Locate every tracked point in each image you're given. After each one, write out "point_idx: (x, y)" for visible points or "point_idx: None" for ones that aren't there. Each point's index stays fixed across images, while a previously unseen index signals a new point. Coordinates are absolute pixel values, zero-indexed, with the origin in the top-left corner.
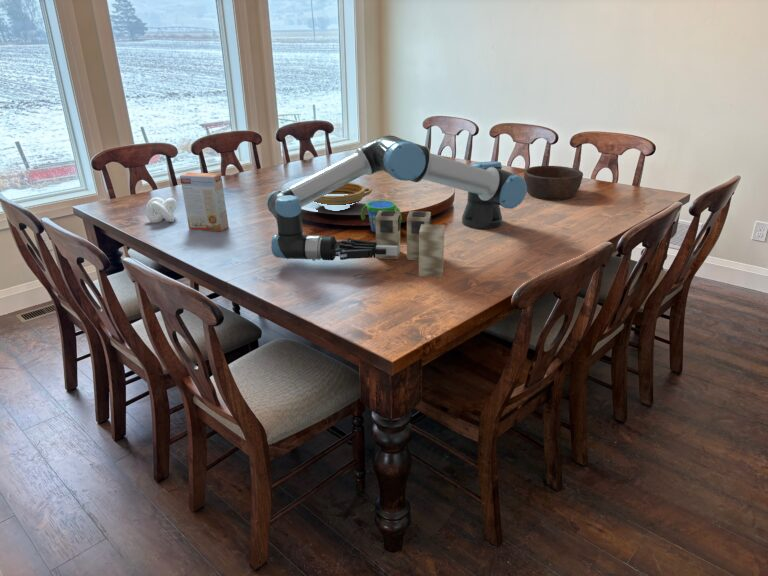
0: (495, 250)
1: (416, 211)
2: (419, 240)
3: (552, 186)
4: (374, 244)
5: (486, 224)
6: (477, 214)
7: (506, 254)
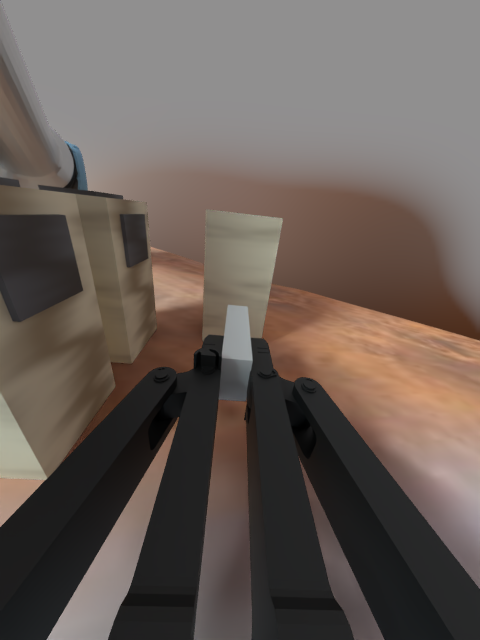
0: None
1: None
2: (277, 248)
3: None
4: (212, 367)
5: None
6: None
7: (160, 272)
